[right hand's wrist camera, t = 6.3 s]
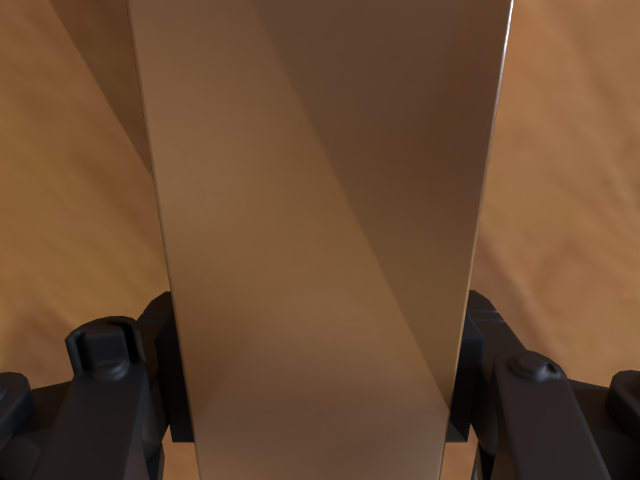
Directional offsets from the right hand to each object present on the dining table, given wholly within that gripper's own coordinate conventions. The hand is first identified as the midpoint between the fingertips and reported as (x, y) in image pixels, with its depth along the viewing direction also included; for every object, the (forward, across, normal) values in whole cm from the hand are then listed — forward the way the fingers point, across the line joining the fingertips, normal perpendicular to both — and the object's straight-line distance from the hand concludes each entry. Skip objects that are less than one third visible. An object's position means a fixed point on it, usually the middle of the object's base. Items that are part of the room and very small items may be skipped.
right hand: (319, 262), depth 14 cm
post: (+1, 0, -29) cm, 29 cm away
